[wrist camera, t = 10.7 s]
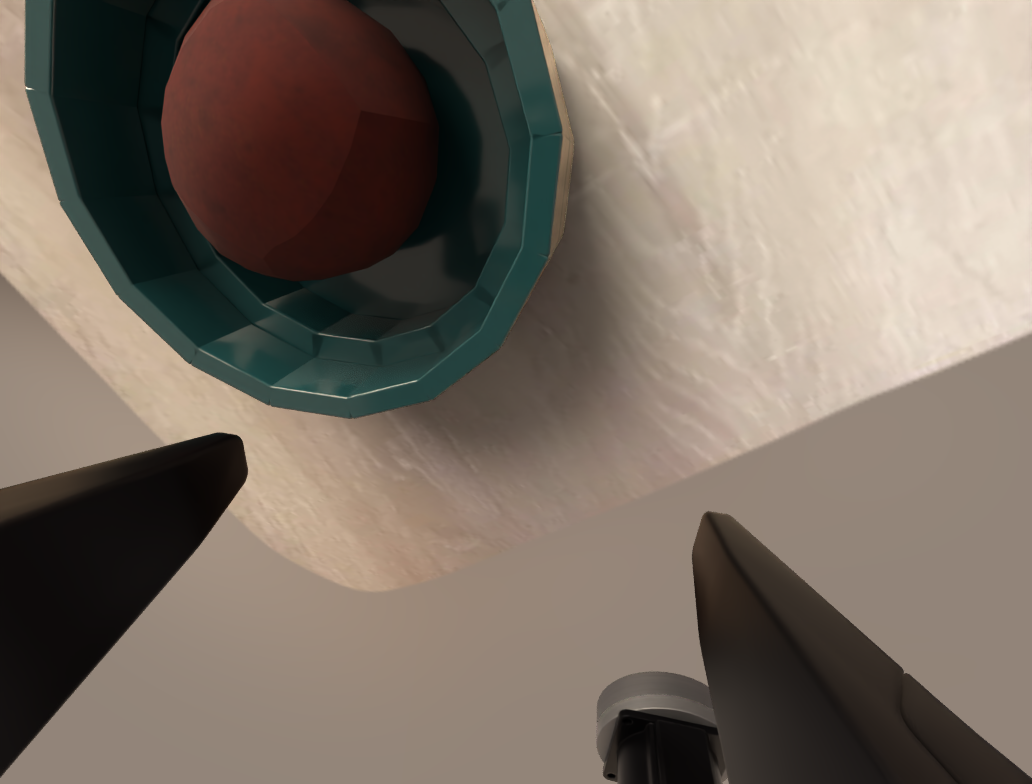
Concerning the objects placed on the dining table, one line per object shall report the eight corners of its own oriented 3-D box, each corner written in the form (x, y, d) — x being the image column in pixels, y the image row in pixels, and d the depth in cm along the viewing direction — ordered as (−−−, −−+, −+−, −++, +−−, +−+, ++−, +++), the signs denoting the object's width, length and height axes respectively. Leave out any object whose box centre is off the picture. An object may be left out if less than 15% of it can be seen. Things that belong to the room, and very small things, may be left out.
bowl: (547, 375, 20) (528, 447, 15) (232, 330, 22) (112, 382, 17) (602, -78, 14) (603, -230, 9) (156, -94, 16) (-76, -232, 10)
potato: (224, 179, 19) (33, 183, 12) (336, -37, 15) (151, -183, 9) (372, 310, 20) (268, 374, 14) (506, 138, 16) (449, 118, 10)
